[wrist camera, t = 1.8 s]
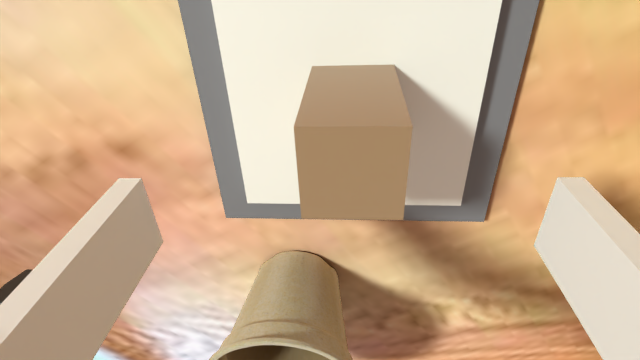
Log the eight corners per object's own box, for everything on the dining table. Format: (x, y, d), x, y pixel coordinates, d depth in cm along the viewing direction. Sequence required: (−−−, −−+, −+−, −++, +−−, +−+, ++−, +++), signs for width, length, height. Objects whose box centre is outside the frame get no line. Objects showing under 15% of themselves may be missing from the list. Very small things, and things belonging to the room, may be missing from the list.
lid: (503, -49, 17) (606, -35, 10) (456, 196, 24) (497, 300, 17) (212, -37, 18) (125, -16, 11) (250, 194, 25) (213, 291, 18)
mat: (559, -108, 16) (566, -109, 15) (481, 215, 25) (483, 221, 25) (164, -87, 17) (158, -87, 17) (228, 212, 26) (226, 217, 26)
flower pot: (375, 306, 31) (382, 421, 24) (270, 325, 33) (247, 435, 26) (335, 219, 26) (329, 329, 19) (217, 249, 29) (171, 357, 21)
